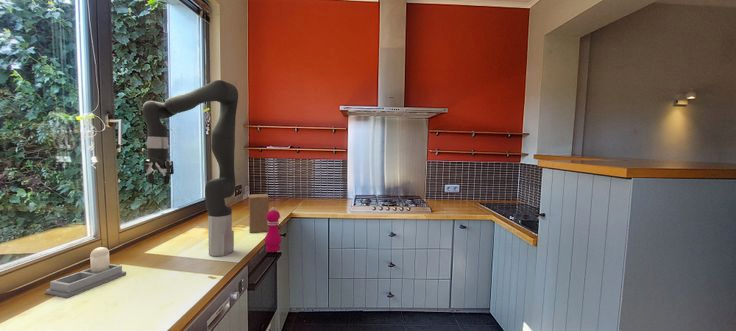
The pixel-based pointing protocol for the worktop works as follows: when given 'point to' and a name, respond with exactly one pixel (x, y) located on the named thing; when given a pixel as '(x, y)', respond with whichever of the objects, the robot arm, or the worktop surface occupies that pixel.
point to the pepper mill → (273, 231)
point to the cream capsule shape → (99, 260)
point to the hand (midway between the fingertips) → (158, 183)
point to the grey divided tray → (83, 281)
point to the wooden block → (258, 213)
